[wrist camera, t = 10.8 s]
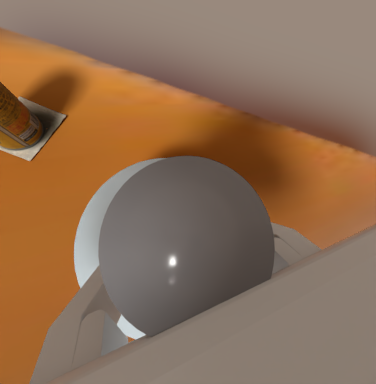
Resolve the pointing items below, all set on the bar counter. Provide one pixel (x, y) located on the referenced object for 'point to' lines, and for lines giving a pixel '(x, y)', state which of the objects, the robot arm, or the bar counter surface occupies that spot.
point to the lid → (174, 241)
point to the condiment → (24, 124)
